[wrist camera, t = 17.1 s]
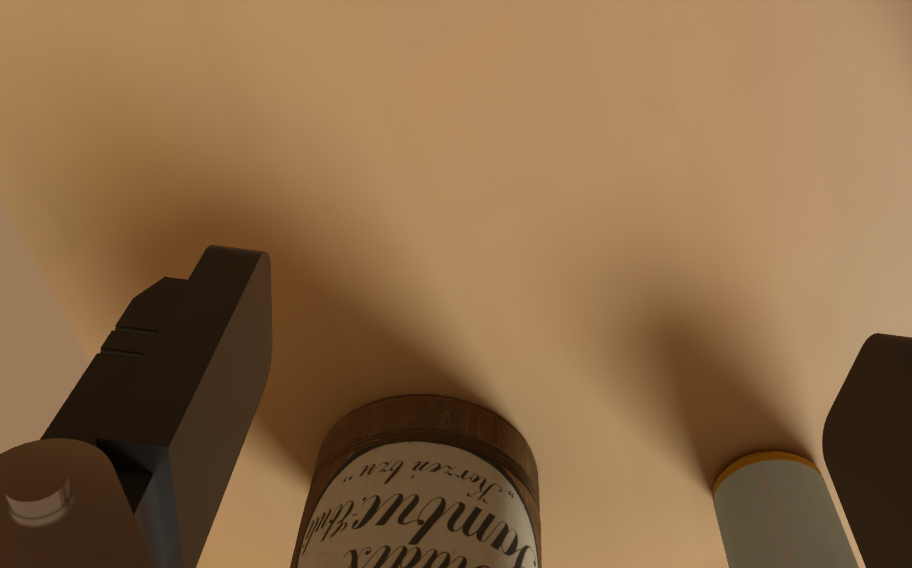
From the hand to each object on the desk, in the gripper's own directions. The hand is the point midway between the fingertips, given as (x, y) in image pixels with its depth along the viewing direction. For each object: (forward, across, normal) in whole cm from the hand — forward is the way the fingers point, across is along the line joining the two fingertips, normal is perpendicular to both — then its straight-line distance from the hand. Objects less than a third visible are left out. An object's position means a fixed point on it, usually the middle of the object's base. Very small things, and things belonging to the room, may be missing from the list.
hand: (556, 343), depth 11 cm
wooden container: (+30, +2, +36) cm, 47 cm away
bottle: (+30, -20, +33) cm, 49 cm away
